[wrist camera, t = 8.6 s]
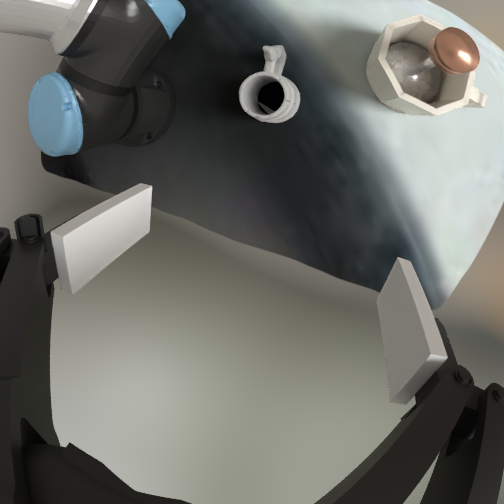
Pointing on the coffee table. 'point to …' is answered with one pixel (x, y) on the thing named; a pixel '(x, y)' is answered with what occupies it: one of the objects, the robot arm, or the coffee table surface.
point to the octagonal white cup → (452, 86)
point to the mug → (271, 73)
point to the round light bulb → (432, 62)
